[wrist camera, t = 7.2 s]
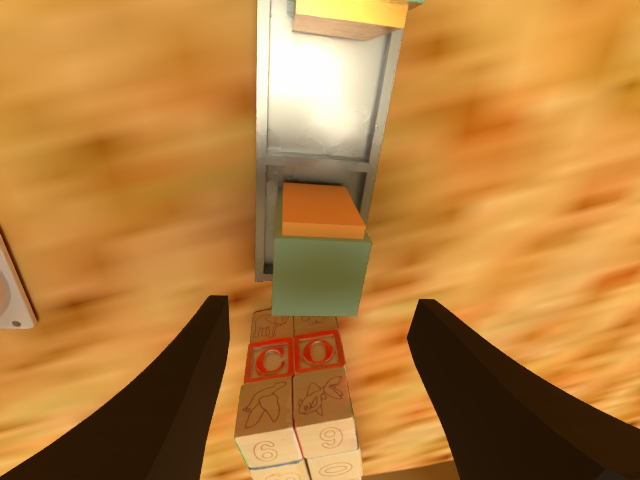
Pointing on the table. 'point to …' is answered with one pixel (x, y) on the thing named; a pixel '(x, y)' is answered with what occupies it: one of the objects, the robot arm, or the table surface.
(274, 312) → the toy block
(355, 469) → the stack of blocks
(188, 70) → the table surface
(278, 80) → the rail
